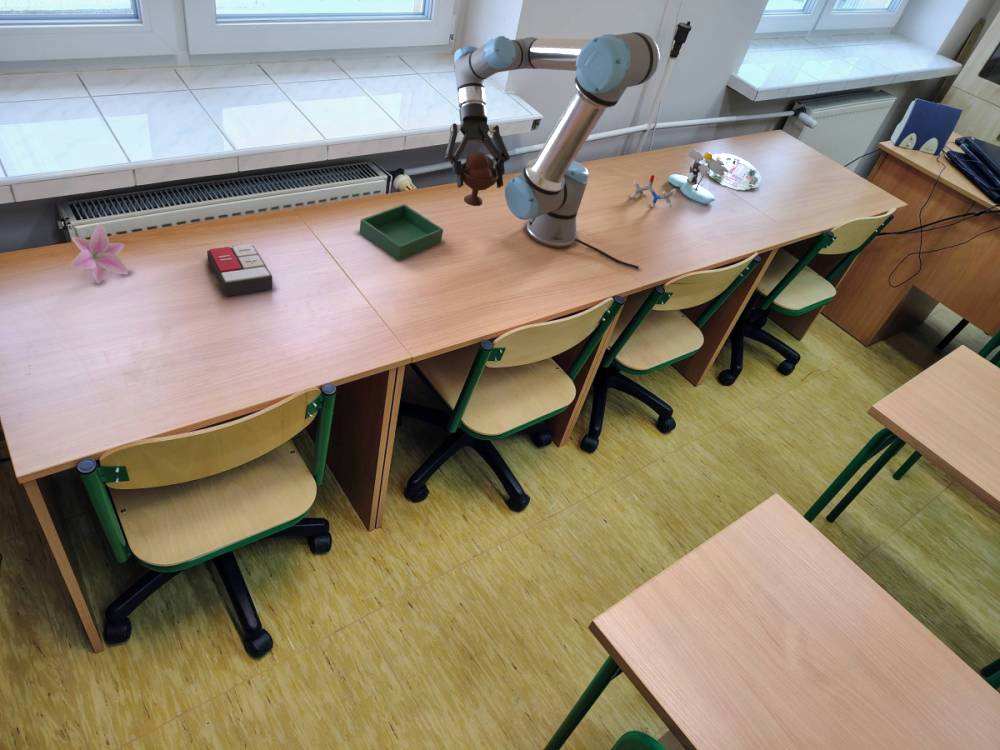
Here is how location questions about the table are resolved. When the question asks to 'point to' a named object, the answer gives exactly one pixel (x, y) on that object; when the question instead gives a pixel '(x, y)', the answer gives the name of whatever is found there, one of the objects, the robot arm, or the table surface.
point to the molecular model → (653, 192)
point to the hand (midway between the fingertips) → (480, 186)
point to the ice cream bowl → (478, 175)
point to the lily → (98, 254)
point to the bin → (401, 231)
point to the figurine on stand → (690, 183)
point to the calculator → (239, 270)
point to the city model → (736, 172)
